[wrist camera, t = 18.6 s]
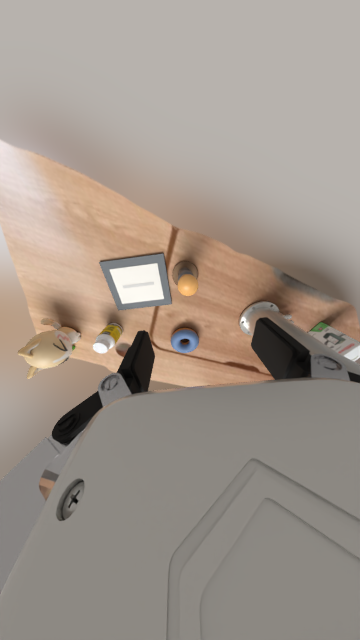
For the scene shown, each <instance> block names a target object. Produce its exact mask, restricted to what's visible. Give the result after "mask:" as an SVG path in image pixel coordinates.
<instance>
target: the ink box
mask: <svg viewBox="0 0 360 640" xmlns="http://www.w3.org/2000/svg"><path fill="white" fill-rule="evenodd" d="M308 334H310V335H311V336H313V337H314V338H316V339H317V340H319V341H320V342H322V343H323V344H325V345H326V346H328V347H330V348H331V349H333V350H335V351H336V352H338V353H339V354H341V355H343V356H345V357H346V358H348V359H350V360H352V361H355V360H357V359H359V358H360V342H358V341H356V340H355V339H353V338H351V337H349V336H347V335H345V334H343V333H342V332H340V331H338V330H336V329H334V328H332V327H331V326H329V325H327V324H325V323H322V322H320V323H319V324H318V325H316V326H315V327H314V328H313V329H312V330H311V331H309V332H308Z"/></svg>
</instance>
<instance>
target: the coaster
mask: <svg viewBox="0 0 360 640" xmlns="http://www.w3.org/2000/svg"><path fill="white" fill-rule="evenodd" d="M185 267H186V268H189V269H190V270H191V271H192V273H193V275H194V277H195V278H196V280H197V277H198V272H197V269H196V267H195V266H194V265H193V264H192V263H190V262H187V261H184V262H180V263H178V264H177V265H176V266H175V268H174V270H173V275H172V276H173V280H174V282H175V284H176V285H177V286H178V272H179V271H180V269H182V268H185Z"/></svg>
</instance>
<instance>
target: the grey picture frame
mask: <svg viewBox="0 0 360 640" xmlns="http://www.w3.org/2000/svg"><path fill="white" fill-rule="evenodd" d="M99 263H100V266H101V268H102V271H103V273H104V276H105V278H106V281H107V283H108V286H109V288H110V291H111V293H112V296H113V298H114V301H115V303H116V306H117V308H118V310H126V309H134V308H143V307H151V306H160V305H168V304H172V302H171V296H170V290H169V284H168V278H167V272H166V266H165V260H164V253H163V254H156V255H149V256H142V257H134V258H127V259H120V260H112V261H105V262H99Z"/></svg>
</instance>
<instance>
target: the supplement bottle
mask: <svg viewBox="0 0 360 640" xmlns="http://www.w3.org/2000/svg"><path fill="white" fill-rule="evenodd" d="M122 332H123V329H122V327H121V326H120V325H118V324H116V323H110V324H108V325H107V326H106V328H105V329H104V330H103V331H102V332H101V333H100V334H99V335H98V336H97V338H96V342H95V343H94V345H93V349H94V350H95V351H96V352H98V353H106V352H107V351H108V349H110V348H112V347H113V346H114V345H115V343H116V342H117V340H118V339H119V337H120V336H121V334H122Z"/></svg>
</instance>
